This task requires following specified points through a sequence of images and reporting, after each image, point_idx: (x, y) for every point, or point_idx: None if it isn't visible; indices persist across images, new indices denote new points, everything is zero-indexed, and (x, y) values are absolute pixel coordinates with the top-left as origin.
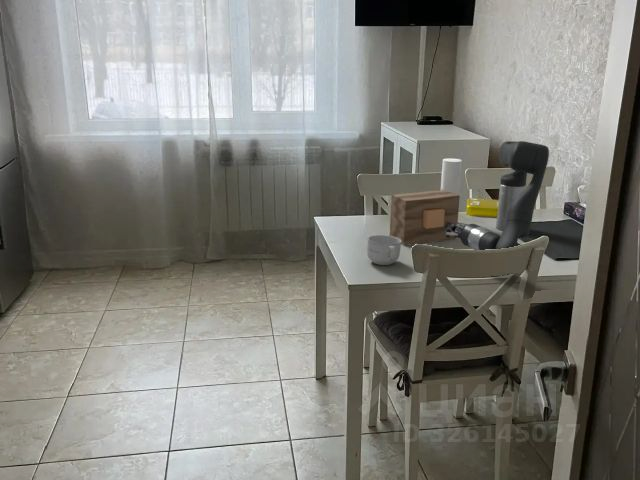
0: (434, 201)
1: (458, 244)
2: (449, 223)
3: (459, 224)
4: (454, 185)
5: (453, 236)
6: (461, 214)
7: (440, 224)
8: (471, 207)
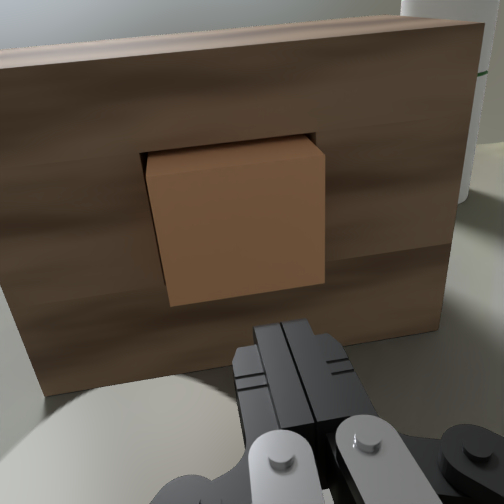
0: (238, 78)
1: (438, 420)
2: (266, 379)
3: (406, 463)
4: (466, 4)
5: (418, 320)
6: (495, 150)
7: (295, 270)
8: None
